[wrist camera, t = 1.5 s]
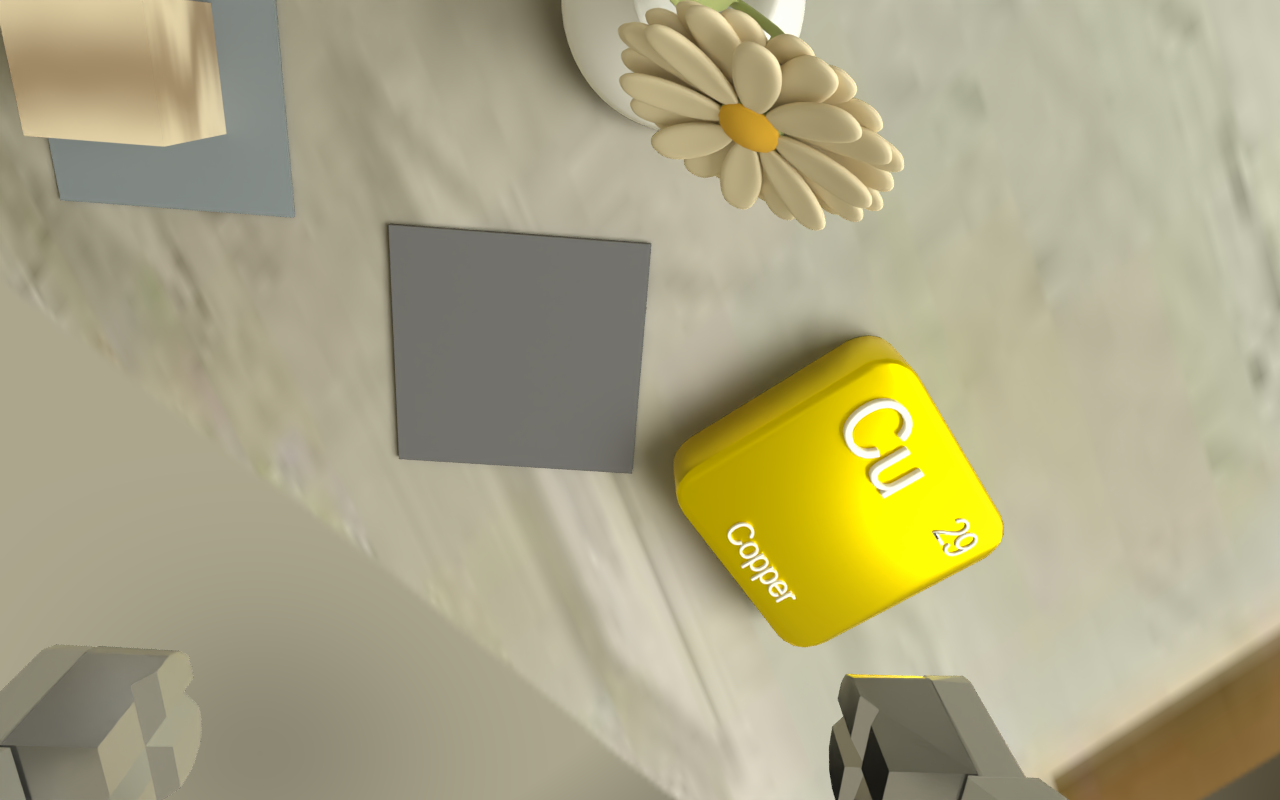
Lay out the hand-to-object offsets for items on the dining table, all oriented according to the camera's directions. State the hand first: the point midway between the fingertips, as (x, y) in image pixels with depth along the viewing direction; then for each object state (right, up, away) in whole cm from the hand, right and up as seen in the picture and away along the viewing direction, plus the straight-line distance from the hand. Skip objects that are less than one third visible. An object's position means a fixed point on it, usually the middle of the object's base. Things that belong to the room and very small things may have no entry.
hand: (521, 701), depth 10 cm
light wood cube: (-22, +20, +30) cm, 42 cm away
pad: (-5, +6, +36) cm, 37 cm away
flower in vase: (+4, +22, +30) cm, 37 cm away
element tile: (+13, -1, +40) cm, 42 cm away
